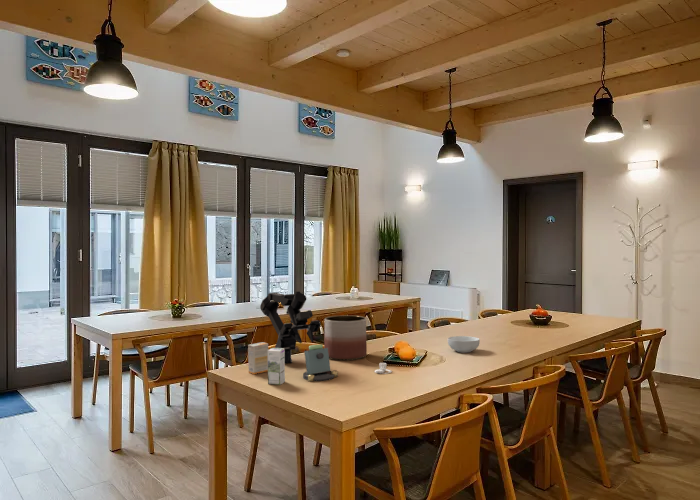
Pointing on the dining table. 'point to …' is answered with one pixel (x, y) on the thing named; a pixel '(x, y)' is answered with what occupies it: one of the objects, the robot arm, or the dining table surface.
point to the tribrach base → (320, 376)
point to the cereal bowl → (463, 343)
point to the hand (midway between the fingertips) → (307, 342)
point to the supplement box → (258, 357)
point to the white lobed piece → (382, 369)
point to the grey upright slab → (317, 359)
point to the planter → (345, 337)
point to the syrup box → (276, 366)
